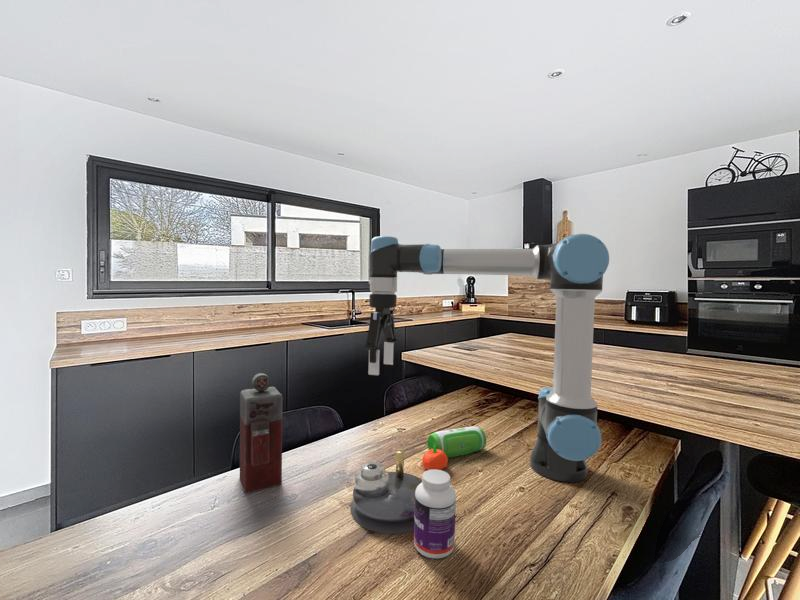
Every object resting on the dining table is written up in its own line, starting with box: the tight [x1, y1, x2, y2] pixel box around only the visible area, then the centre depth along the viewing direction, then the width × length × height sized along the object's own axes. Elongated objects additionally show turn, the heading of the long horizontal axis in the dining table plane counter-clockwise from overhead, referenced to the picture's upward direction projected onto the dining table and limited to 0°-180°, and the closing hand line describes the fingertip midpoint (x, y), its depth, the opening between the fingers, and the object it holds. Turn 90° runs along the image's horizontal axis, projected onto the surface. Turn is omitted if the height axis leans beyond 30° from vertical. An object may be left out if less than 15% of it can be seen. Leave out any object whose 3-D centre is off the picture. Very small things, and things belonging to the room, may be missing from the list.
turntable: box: [352, 449, 422, 524], centre depth 87 cm, size 18×18×8 cm
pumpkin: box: [421, 446, 449, 471], centre depth 106 cm, size 7×8×6 cm
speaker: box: [426, 426, 487, 458], centre depth 117 cm, size 18×7×8 cm, turn 114°
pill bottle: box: [413, 469, 457, 560], centre depth 75 cm, size 8×8×14 cm
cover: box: [353, 461, 389, 497], centre depth 89 cm, size 8×8×5 cm
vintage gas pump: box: [239, 372, 284, 494], centre depth 97 cm, size 9×11×28 cm
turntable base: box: [350, 500, 414, 535], centre depth 88 cm, size 19×19×2 cm
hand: (381, 369), depth 106 cm, fingers open, 13 cm apart
